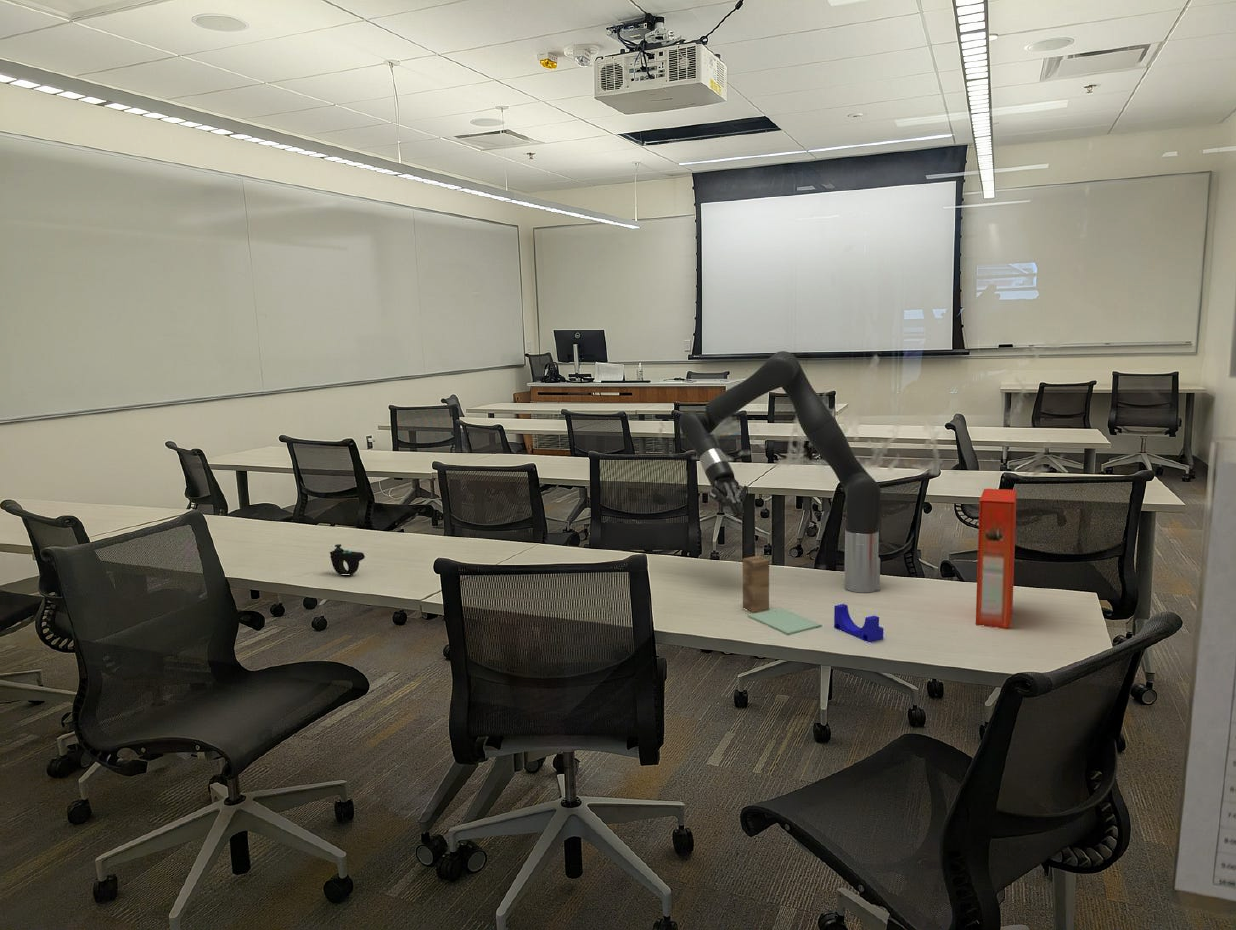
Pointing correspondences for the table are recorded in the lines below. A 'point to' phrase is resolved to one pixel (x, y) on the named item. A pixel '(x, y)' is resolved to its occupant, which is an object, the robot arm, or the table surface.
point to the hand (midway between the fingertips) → (740, 516)
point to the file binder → (996, 557)
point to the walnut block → (756, 584)
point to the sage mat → (784, 621)
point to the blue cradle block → (846, 625)
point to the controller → (345, 555)
